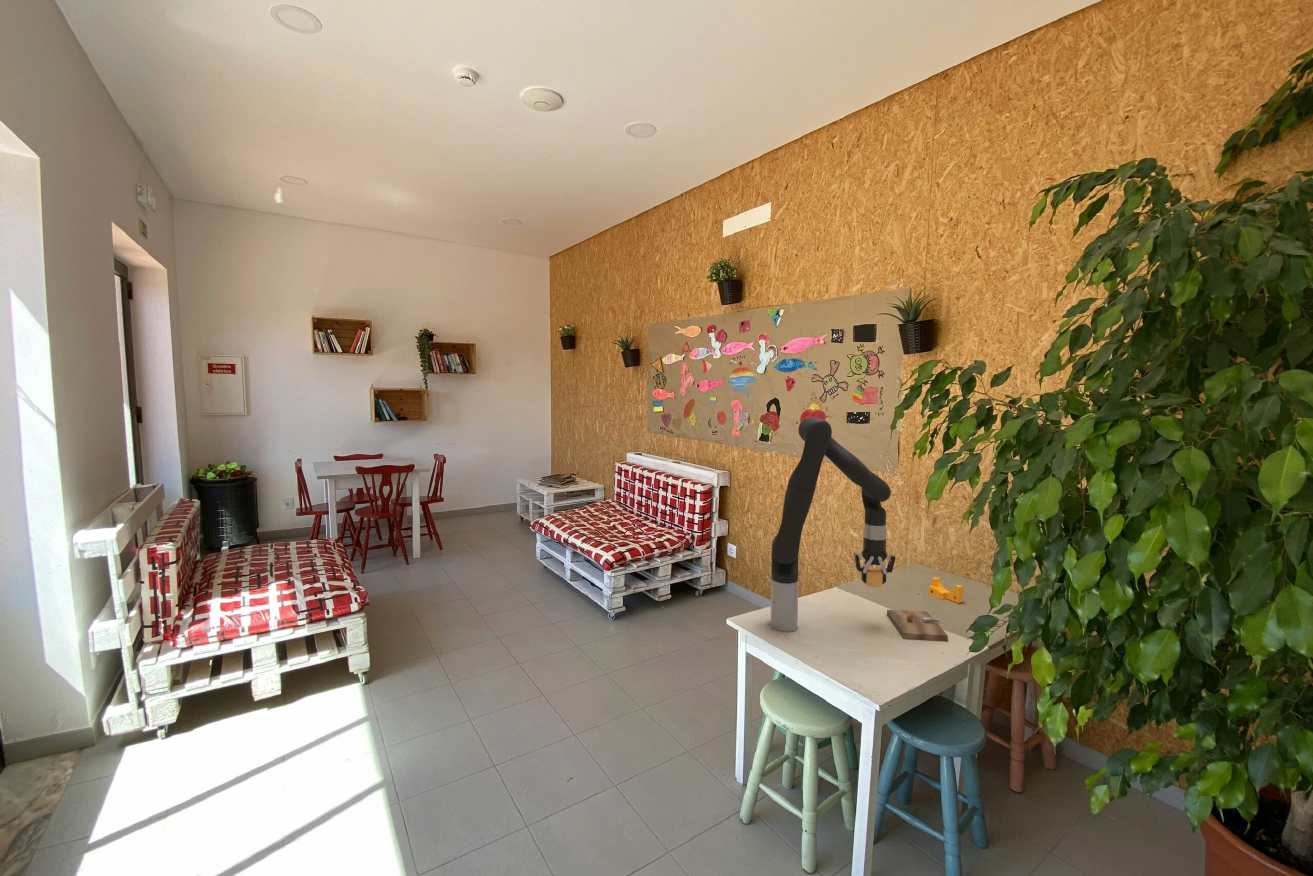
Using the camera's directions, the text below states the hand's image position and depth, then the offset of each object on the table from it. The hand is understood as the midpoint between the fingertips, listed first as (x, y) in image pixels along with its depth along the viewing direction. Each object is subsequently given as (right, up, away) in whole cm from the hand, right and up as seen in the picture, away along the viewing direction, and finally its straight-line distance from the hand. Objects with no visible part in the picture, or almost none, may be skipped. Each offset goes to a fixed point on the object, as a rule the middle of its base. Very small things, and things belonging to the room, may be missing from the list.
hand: (873, 582), depth 191 cm
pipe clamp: (+40, -14, +27) cm, 50 cm away
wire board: (+14, -15, -1) cm, 21 cm away
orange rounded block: (0, 0, 0) cm, 1 cm away
